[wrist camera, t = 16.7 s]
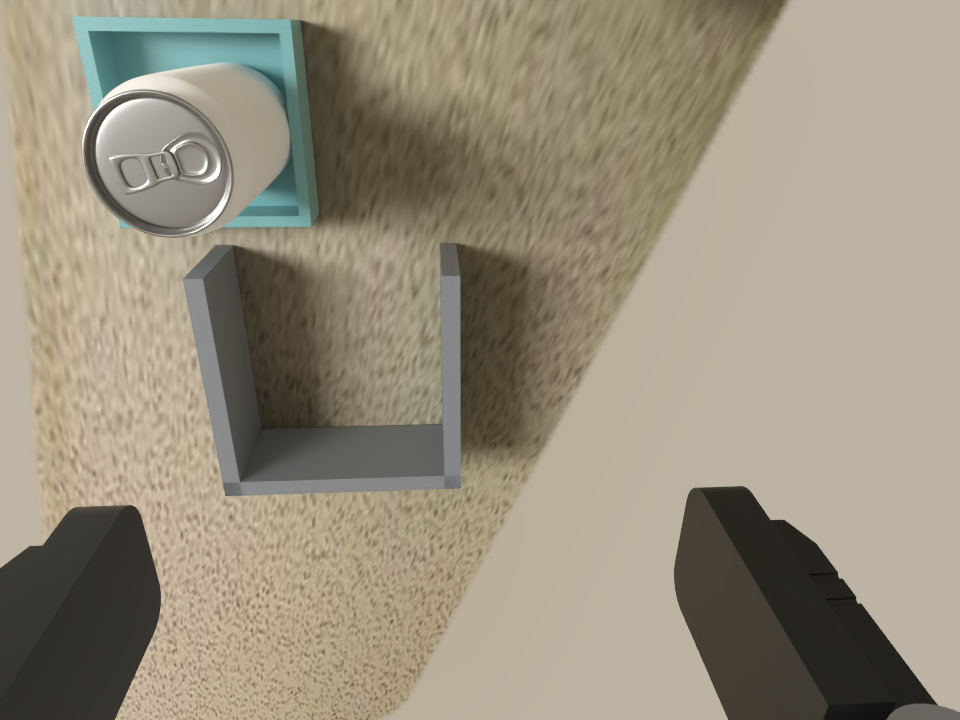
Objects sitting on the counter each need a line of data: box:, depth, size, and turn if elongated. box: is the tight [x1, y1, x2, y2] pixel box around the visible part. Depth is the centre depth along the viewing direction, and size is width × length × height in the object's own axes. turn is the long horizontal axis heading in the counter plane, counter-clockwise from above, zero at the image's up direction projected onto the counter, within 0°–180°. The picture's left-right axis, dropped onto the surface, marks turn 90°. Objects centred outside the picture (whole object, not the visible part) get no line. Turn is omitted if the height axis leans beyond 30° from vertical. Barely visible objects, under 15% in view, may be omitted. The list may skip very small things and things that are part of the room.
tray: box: [72, 17, 319, 228], centre depth 36 cm, size 10×10×3 cm
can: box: [82, 63, 292, 238], centre depth 31 cm, size 6×6×12 cm
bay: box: [183, 243, 461, 496], centre depth 41 cm, size 14×14×6 cm
